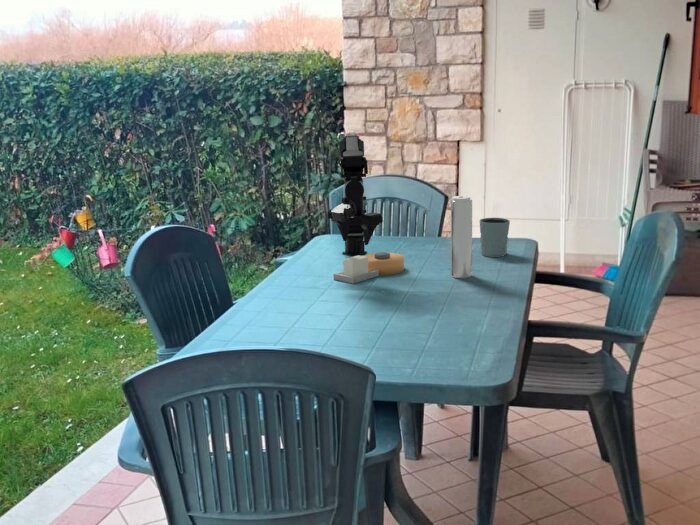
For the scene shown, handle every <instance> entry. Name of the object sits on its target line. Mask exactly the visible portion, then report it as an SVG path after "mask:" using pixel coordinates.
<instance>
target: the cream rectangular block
mask: <svg viewBox="0 0 700 525" xmlns="http://www.w3.org/2000/svg"><path fill="white" fill-rule="evenodd" d="M342 264H343V266H342V267H343V271H344V275H346V276H350V277H355V276H359V275H362V274H365V273H368V257H365V256H364V255H357V256H351V257H347V258H343V261H342Z"/></svg>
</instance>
